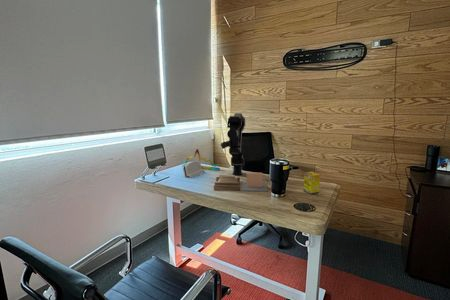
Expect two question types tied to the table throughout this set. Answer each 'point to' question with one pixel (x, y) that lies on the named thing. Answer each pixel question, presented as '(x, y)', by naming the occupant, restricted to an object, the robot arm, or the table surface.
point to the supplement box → (311, 182)
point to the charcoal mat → (254, 187)
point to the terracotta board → (254, 179)
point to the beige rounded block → (192, 169)
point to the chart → (205, 161)
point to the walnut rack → (227, 185)
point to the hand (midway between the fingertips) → (234, 161)
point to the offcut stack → (228, 179)
